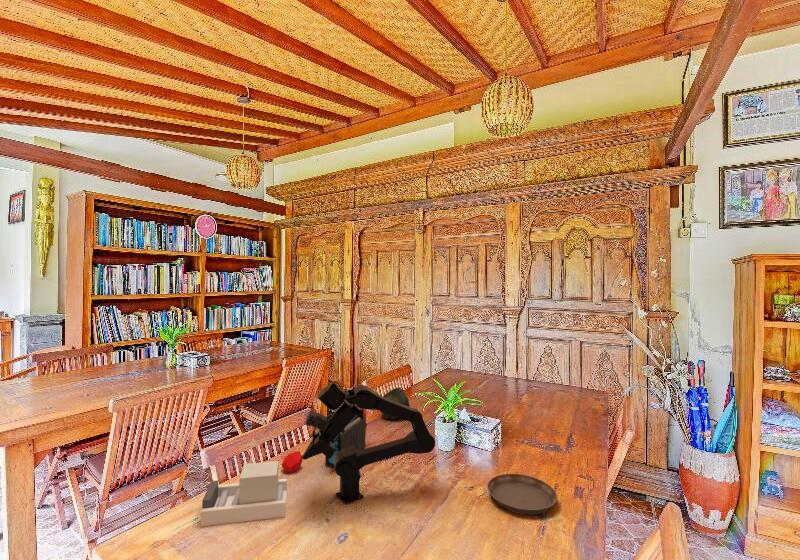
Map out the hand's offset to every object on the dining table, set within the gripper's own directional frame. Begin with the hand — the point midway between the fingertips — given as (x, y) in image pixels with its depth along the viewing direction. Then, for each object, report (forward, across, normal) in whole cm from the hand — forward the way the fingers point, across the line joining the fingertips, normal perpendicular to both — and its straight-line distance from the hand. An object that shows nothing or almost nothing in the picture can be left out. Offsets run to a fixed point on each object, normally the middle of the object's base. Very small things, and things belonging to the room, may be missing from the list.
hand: (303, 458), depth 123 cm
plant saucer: (-37, +12, +56) cm, 69 cm away
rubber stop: (+27, 0, -10) cm, 28 cm away
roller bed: (+20, 0, -2) cm, 20 cm away
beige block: (+16, +1, -2) cm, 16 cm away
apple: (+12, -22, +7) cm, 26 cm away
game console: (-2, -28, +21) cm, 35 cm away
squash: (-21, -68, +40) cm, 81 cm away
